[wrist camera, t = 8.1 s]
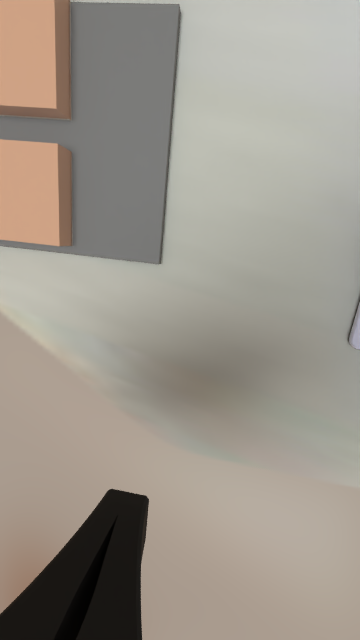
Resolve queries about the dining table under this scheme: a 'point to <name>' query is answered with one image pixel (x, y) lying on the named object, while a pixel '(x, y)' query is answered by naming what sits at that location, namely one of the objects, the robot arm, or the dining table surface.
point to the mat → (114, 128)
